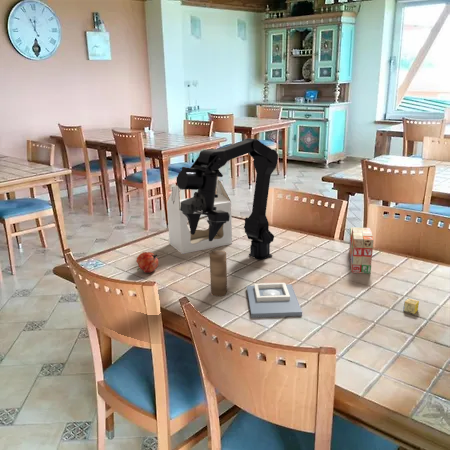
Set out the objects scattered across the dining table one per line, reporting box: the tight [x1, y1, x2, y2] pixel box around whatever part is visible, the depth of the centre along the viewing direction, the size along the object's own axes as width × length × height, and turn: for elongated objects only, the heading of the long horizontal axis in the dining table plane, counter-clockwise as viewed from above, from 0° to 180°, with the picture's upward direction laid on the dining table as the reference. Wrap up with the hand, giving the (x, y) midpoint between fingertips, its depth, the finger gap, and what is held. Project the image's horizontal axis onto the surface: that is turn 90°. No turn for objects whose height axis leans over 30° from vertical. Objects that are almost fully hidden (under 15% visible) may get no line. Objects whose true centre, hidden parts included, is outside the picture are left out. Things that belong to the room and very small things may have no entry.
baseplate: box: [246, 282, 303, 318], centre depth 135 cm, size 18×14×2 cm
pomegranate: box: [136, 251, 160, 274], centre depth 158 cm, size 7×7×10 cm
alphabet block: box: [403, 298, 420, 315], centre depth 128 cm, size 3×3×3 cm
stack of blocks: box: [348, 226, 374, 274], centre depth 162 cm, size 21×6×12 cm, turn 168°
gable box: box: [166, 177, 233, 255], centre depth 180 cm, size 22×13×28 cm, turn 118°
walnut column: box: [209, 249, 228, 297], centre depth 140 cm, size 5×5×13 cm
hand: (201, 237), depth 149 cm, fingers open, 9 cm apart
